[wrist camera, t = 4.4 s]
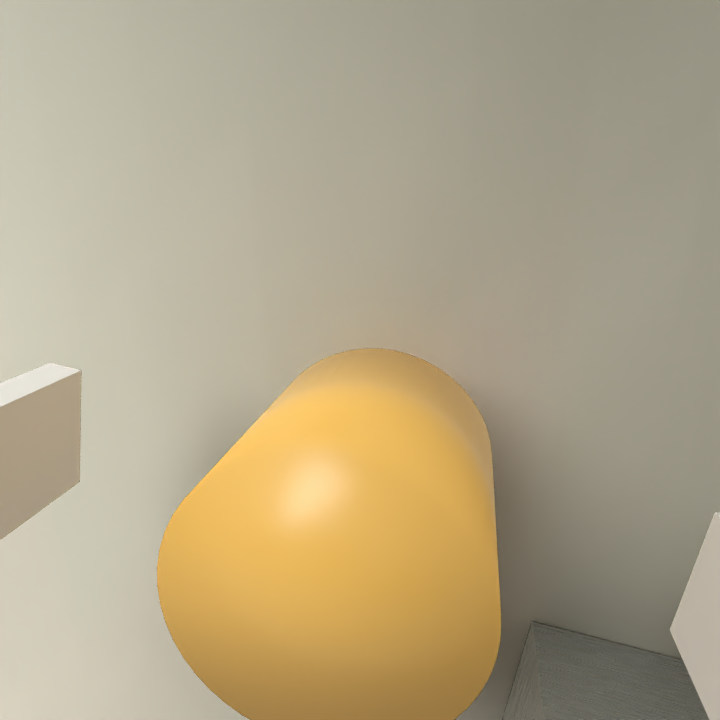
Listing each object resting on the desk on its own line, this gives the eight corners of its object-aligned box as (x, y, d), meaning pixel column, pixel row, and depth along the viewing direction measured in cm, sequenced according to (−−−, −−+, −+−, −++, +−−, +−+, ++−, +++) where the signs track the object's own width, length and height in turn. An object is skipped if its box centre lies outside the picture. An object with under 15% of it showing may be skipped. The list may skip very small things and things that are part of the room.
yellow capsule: (294, 469, 17) (149, 697, 10) (317, 301, 15) (166, 413, 8) (467, 510, 16) (459, 789, 9) (509, 338, 15) (542, 499, 7)
